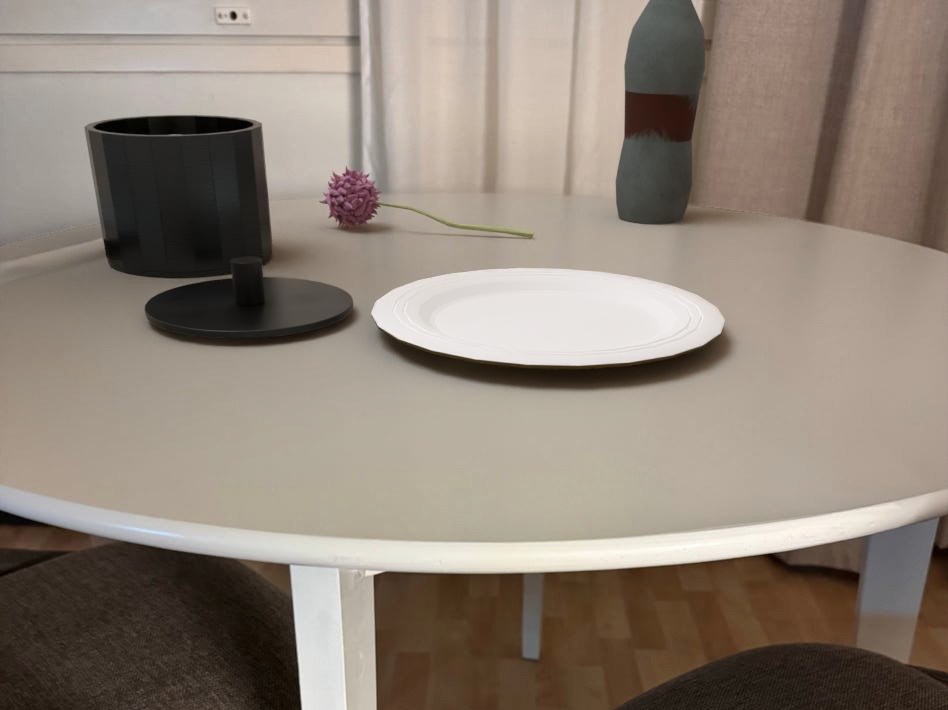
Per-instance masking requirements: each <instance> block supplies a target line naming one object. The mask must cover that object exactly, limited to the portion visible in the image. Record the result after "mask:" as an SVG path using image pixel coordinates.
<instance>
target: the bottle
mask: <svg viewBox="0 0 948 710" xmlns="http://www.w3.org/2000/svg"><path fill="white" fill-rule="evenodd" d="M624 59H625V60H624V70H623V71H624V127H623V128H624V132H623V133H624V134H623V135H624V136H623V141H622V144H621V145H622V146H621V151H620V155H619V159H618V160H619V161H618V166H617V170H616V171H617V172H616V177H615V205H616V210H617V216H618V218H619V219H620V220H622V221H626V222H629V223H637V224H645V225H646V224H647V225H665V224H673V223H679V222H681V221H683V219H684V217H685V214H686V211H687V208H688V205H689V201H690V196H691V192H692V187H693V145H692V144H693V141H692V140H693V134H694V128H695V122H696V116H697V110H698V106H699V100H700V95H701V94H700V93H701V88H702V84H703V78H704V76H705V75H704V74H705V71H706V37H705V30H704V26H703V24H702V22H701V19H700V17H699V14H698V12H697V10H696V7H695V5H694V3H693V1H692V0H648V2H647V3H646V5H645V7H644V8H643V10H642V12H640V15H639V17H638V18H637V20H636V21H635V22H634V24H633V26H632V29H631V32H630V35H629V39H628V42H627V48H626V53H625V58H624Z"/></svg>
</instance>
